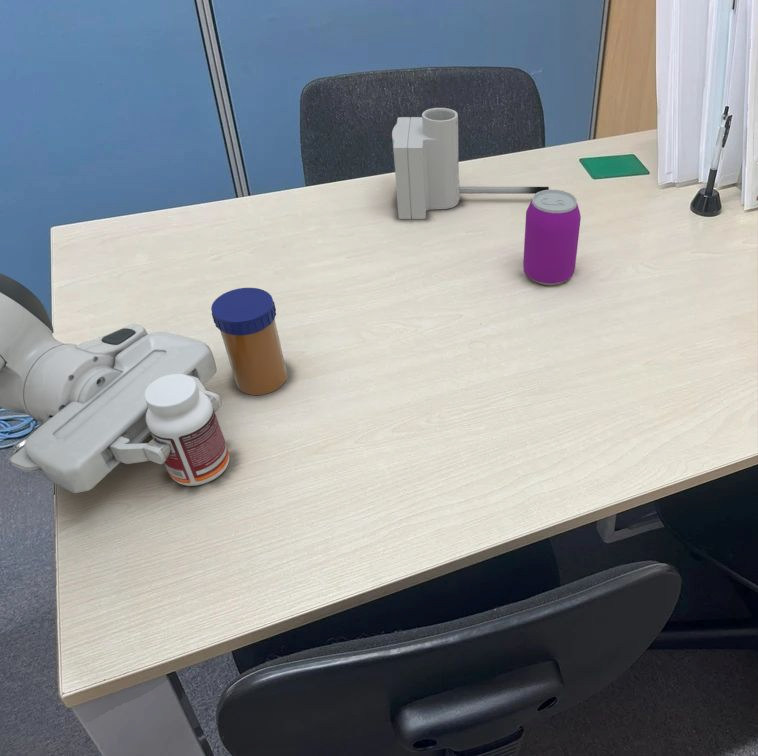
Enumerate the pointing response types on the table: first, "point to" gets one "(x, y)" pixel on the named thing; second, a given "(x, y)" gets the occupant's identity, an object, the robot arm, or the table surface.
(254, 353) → the jar
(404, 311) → the table surface
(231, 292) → the lid
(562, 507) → the table surface
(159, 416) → the pill bottle
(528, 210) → the beverage can
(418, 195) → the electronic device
